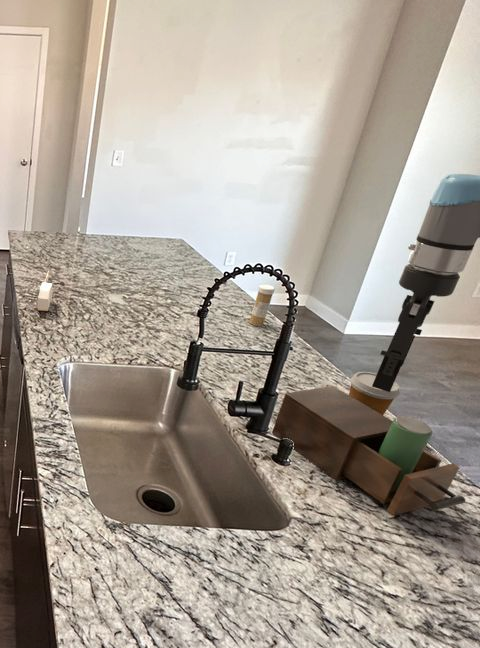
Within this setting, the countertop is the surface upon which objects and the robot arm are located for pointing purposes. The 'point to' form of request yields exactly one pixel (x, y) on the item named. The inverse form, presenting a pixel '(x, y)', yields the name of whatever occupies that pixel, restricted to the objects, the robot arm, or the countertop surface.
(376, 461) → the drawer
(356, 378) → the disposable coffee cup
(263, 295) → the sprinkles bottle
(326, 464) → the cabinet
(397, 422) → the green can
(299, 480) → the countertop surface
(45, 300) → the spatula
